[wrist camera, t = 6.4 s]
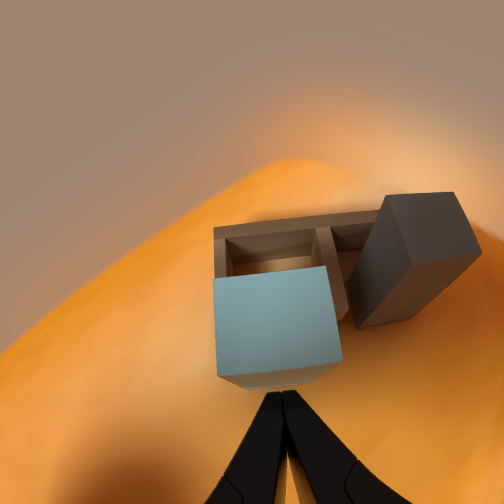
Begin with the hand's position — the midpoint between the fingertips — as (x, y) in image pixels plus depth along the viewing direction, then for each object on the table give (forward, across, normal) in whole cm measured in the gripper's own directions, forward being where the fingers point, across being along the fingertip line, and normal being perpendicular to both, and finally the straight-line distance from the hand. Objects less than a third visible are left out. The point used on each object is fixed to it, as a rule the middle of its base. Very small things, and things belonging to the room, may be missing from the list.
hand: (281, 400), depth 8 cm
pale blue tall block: (+7, 0, +3) cm, 8 cm away
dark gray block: (+8, -7, +2) cm, 11 cm away
